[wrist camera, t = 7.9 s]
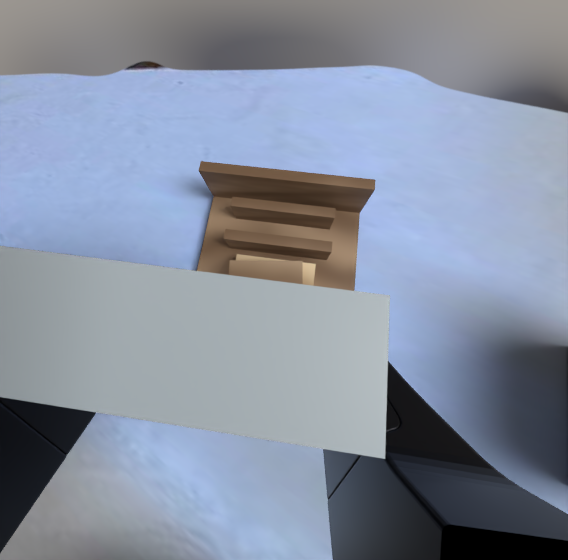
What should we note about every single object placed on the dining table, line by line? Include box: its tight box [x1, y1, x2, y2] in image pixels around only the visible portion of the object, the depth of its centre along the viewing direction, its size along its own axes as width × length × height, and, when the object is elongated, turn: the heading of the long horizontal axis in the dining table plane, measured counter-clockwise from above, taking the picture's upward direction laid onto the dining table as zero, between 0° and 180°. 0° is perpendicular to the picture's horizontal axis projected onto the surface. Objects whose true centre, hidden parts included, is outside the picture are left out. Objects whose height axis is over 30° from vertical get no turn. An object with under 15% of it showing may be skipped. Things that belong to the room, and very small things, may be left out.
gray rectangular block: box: [0, 246, 390, 459], centre depth 8 cm, size 2×6×12 cm, turn 82°
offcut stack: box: [229, 254, 316, 286], centre depth 19 cm, size 6×8×3 cm
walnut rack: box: [197, 161, 375, 291], centre depth 20 cm, size 14×16×5 cm
